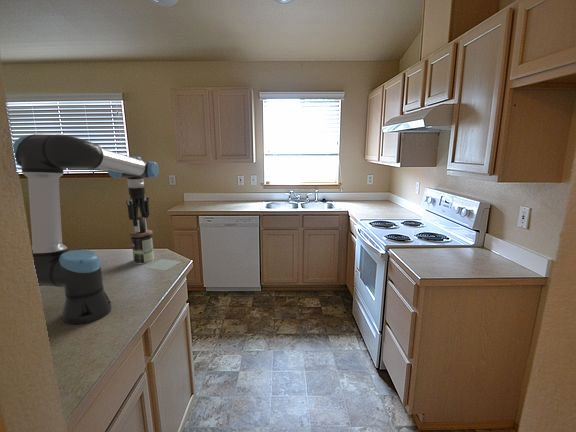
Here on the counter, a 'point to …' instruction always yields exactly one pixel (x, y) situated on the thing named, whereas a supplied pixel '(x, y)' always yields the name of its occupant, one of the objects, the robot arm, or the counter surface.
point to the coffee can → (142, 249)
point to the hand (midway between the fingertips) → (141, 230)
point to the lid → (141, 229)
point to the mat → (163, 264)
